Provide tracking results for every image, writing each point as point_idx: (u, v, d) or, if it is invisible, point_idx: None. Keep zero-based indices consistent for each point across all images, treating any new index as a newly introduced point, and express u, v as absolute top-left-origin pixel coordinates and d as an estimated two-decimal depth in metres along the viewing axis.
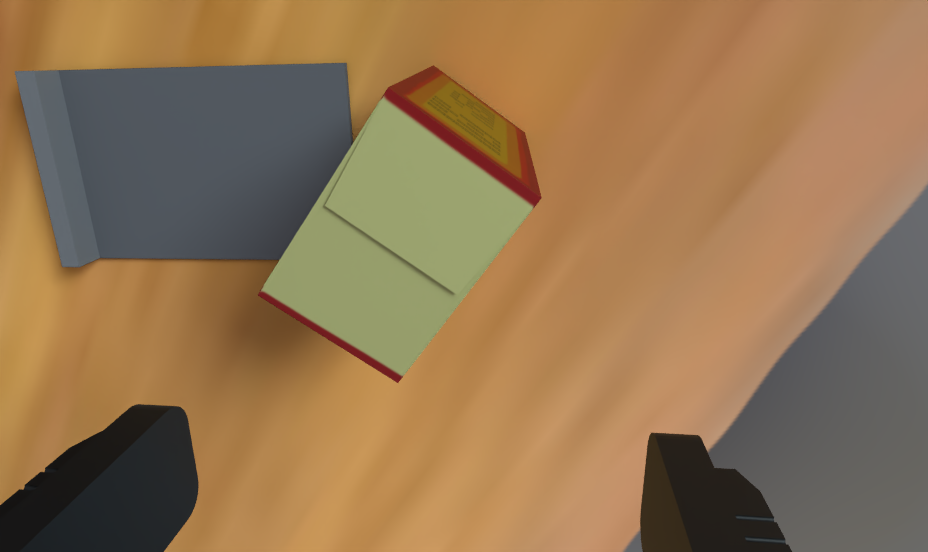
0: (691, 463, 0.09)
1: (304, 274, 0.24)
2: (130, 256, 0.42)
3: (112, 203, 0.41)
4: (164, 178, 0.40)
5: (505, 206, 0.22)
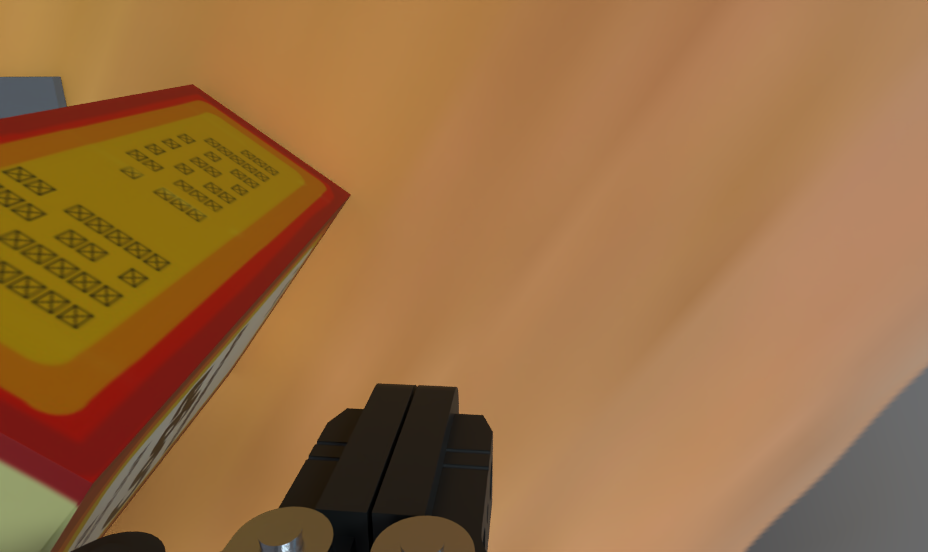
0: (433, 407, 0.10)
1: None
2: None
3: None
4: None
5: (5, 499, 0.08)
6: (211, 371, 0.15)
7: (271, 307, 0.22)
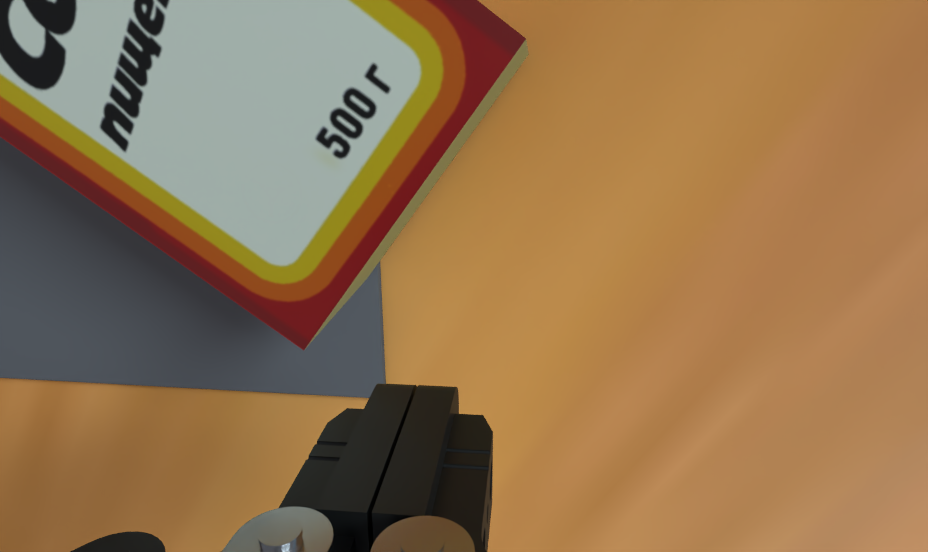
0: (433, 407, 0.10)
1: None
2: (12, 375, 0.26)
3: None
4: (62, 259, 0.24)
5: None
6: None
7: (339, 146, 0.15)
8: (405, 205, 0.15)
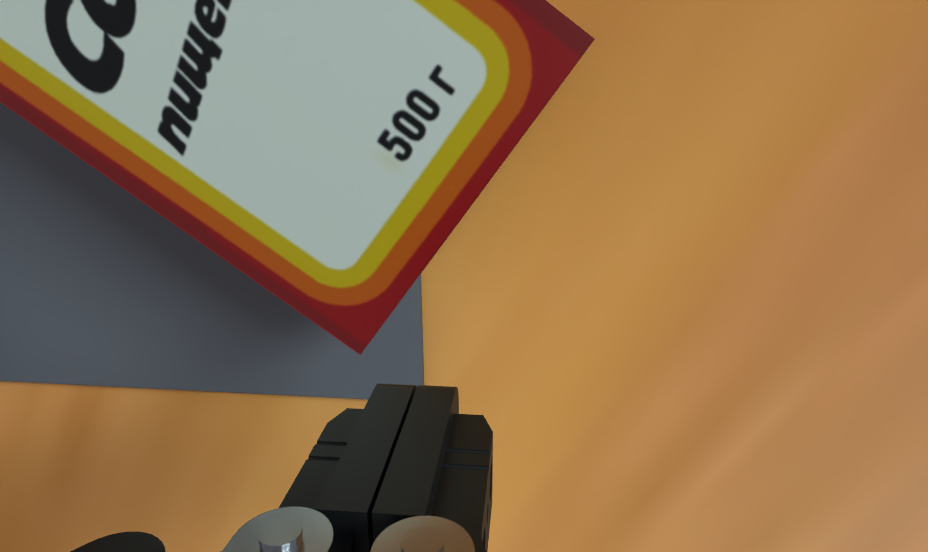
0: (433, 407, 0.10)
1: None
2: (47, 380, 0.26)
3: (15, 299, 0.25)
4: (100, 263, 0.24)
5: None
6: None
7: (400, 149, 0.15)
8: (467, 208, 0.15)
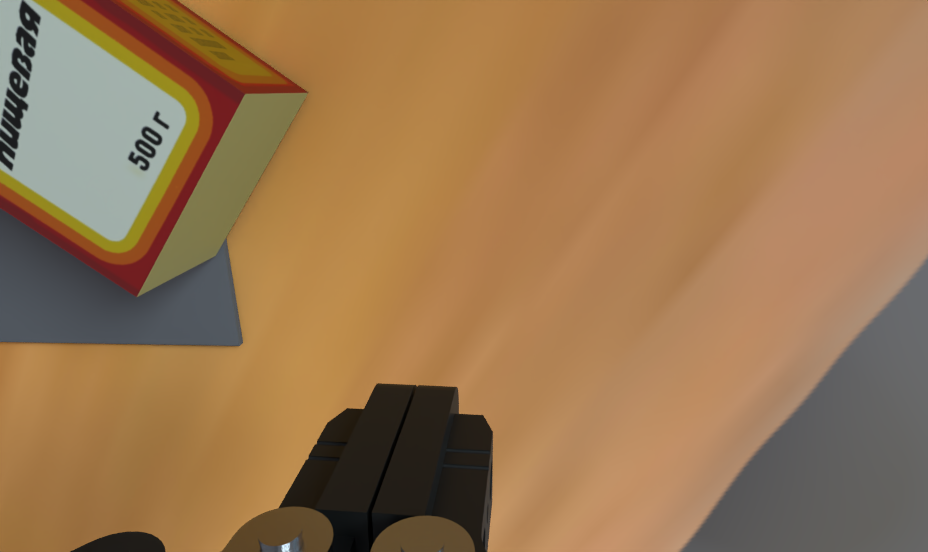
0: (433, 407, 0.10)
1: None
2: None
3: None
4: None
5: None
6: None
7: (142, 163, 0.23)
8: (187, 199, 0.24)
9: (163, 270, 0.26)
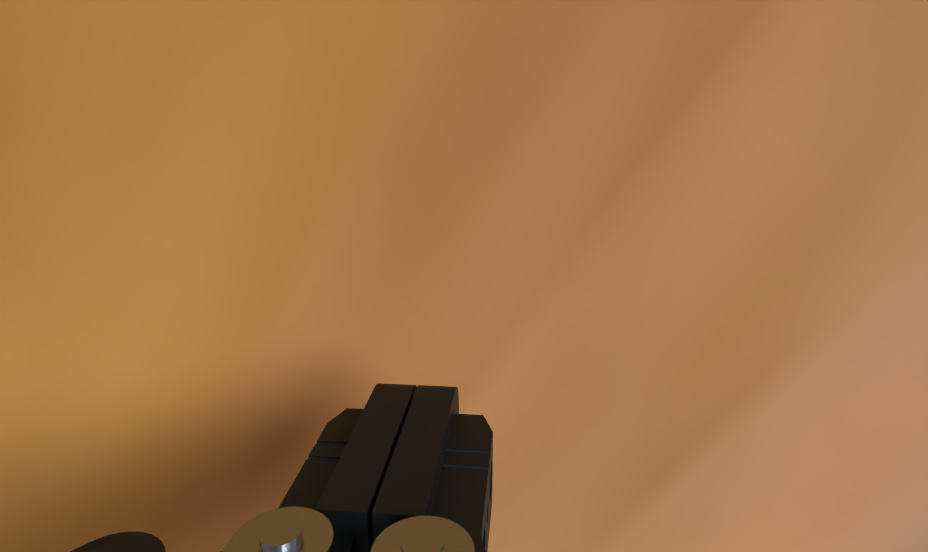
0: (433, 407, 0.10)
1: None
2: None
3: None
4: None
5: None
6: None
7: None
8: None
9: None
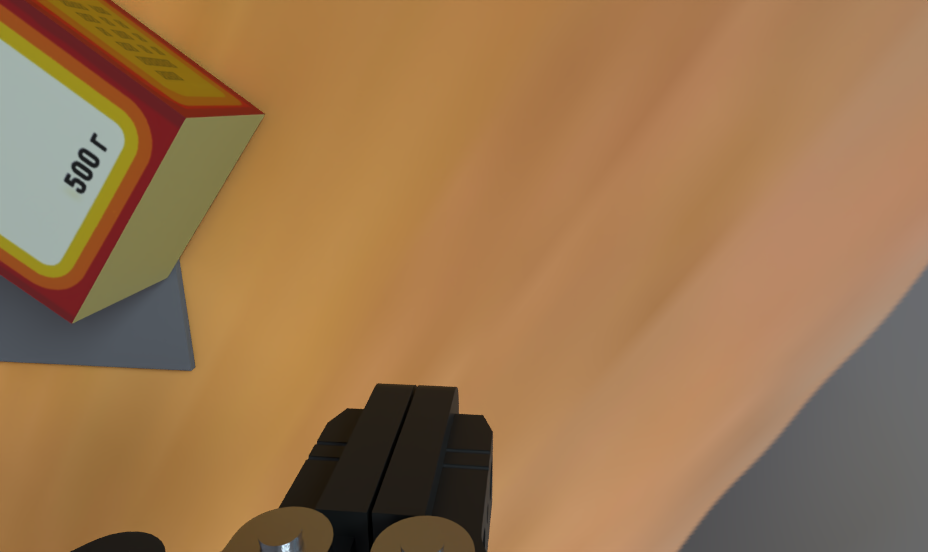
0: (433, 407, 0.10)
1: None
2: None
3: None
4: None
5: None
6: None
7: (79, 186, 0.22)
8: (125, 224, 0.23)
9: (102, 295, 0.25)
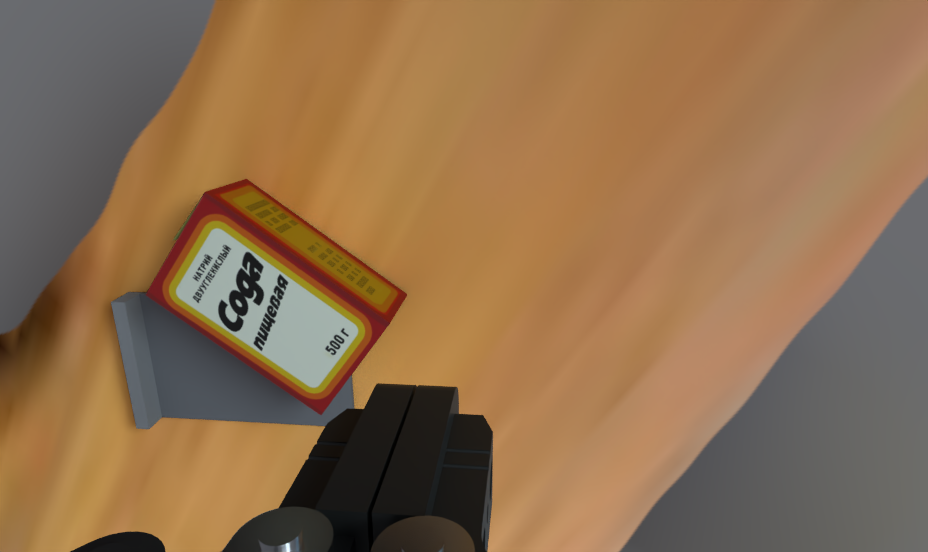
0: (433, 407, 0.10)
1: None
2: (184, 417, 0.57)
3: (173, 381, 0.56)
4: (213, 367, 0.55)
5: None
6: (265, 276, 0.44)
7: (332, 351, 0.46)
8: (354, 369, 0.46)
9: None
